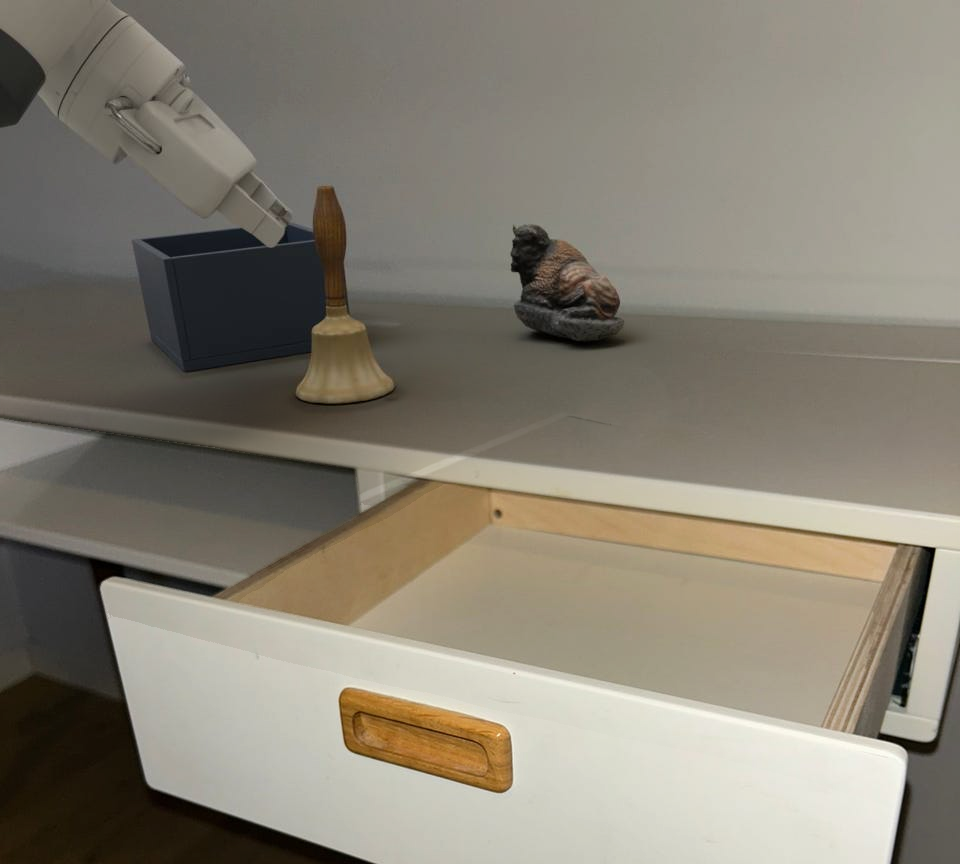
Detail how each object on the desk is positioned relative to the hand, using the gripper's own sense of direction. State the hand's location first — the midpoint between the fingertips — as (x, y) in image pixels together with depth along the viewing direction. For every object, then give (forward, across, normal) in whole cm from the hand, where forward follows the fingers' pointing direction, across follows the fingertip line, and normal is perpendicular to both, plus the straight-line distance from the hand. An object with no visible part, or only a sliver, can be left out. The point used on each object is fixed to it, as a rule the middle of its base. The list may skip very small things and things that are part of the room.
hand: (284, 231), depth 83 cm
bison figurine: (+26, +14, -8) cm, 31 cm away
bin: (+4, +23, +14) cm, 27 cm away
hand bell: (+12, +1, +7) cm, 14 cm away
